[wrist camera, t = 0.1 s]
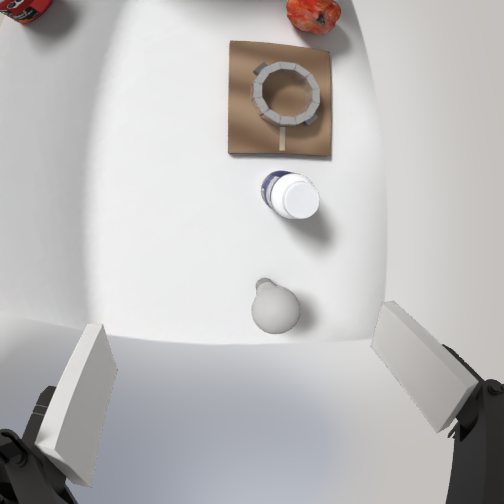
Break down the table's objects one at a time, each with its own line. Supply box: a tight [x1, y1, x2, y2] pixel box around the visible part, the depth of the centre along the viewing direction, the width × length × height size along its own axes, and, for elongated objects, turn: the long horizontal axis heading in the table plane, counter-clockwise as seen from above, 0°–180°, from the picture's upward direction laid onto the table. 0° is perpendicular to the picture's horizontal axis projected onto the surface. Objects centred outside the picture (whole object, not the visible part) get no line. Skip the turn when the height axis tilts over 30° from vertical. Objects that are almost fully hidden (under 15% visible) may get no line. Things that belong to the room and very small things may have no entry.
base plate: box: [228, 41, 331, 156], centre depth 33 cm, size 16×14×1 cm
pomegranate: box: [286, 0, 341, 34], centre depth 27 cm, size 7×7×10 cm
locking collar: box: [251, 62, 320, 126], centre depth 32 cm, size 8×8×2 cm
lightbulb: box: [252, 278, 300, 334], centre depth 38 cm, size 6×6×11 cm
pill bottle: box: [261, 171, 320, 219], centre depth 34 cm, size 5×5×10 cm
